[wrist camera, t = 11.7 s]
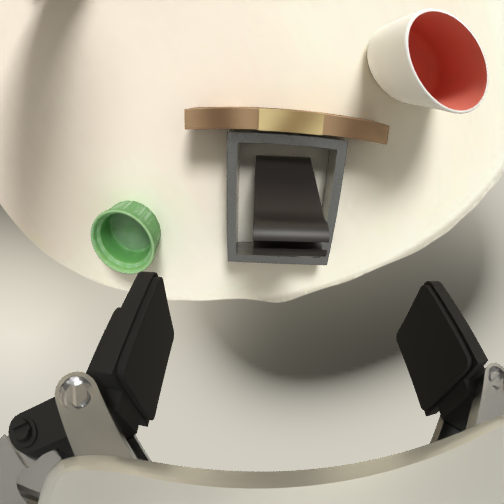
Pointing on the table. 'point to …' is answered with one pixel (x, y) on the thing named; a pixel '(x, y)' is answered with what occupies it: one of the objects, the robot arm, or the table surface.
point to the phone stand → (287, 209)
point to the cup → (429, 62)
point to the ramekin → (126, 237)
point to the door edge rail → (285, 122)
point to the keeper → (331, 194)
